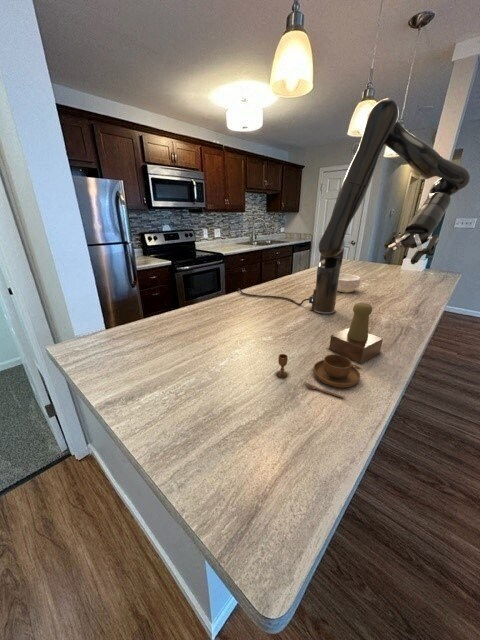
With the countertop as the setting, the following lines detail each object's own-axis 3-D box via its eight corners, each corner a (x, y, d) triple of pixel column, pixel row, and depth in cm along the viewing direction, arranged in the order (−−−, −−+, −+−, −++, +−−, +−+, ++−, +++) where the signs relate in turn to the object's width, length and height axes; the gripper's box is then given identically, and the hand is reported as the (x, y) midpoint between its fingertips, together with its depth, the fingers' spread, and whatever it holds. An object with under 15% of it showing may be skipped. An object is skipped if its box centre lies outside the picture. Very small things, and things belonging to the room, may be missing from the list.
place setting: (352, 403, 61) (356, 382, 59) (274, 376, 71) (275, 358, 69) (364, 367, 75) (367, 349, 73) (297, 349, 85) (298, 333, 82)
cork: (367, 334, 83) (374, 302, 79) (367, 342, 78) (374, 308, 74) (347, 331, 86) (353, 299, 82) (346, 339, 81) (352, 305, 76)
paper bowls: (355, 295, 139) (357, 281, 136) (326, 291, 146) (328, 277, 143) (360, 289, 150) (363, 275, 147) (333, 285, 158) (335, 272, 155)
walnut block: (329, 349, 85) (330, 335, 83) (348, 340, 91) (351, 326, 89) (360, 363, 77) (363, 348, 75) (379, 352, 83) (383, 338, 81)
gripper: (399, 213, 89) (374, 250, 88) (448, 213, 78) (420, 256, 77) (404, 229, 94) (379, 264, 92) (450, 231, 83) (424, 271, 81)
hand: (398, 260), depth 84 cm, fingers open, 8 cm apart
